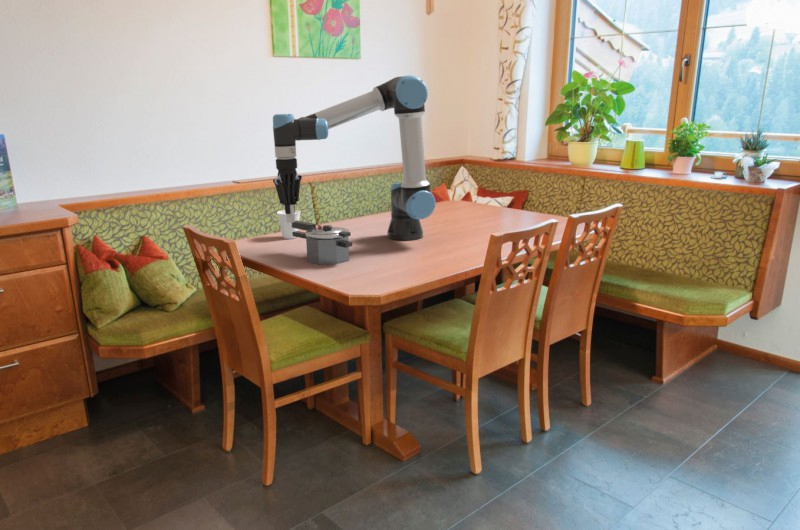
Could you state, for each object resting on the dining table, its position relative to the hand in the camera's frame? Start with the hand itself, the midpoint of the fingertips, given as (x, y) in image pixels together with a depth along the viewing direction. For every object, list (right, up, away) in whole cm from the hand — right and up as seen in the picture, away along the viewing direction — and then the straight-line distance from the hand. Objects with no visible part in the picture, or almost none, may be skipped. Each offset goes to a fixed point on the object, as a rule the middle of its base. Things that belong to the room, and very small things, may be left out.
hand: (290, 221), depth 225 cm
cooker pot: (+12, -13, -1) cm, 18 cm away
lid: (+11, -4, -3) cm, 12 cm away
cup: (-6, -5, +32) cm, 32 cm away
